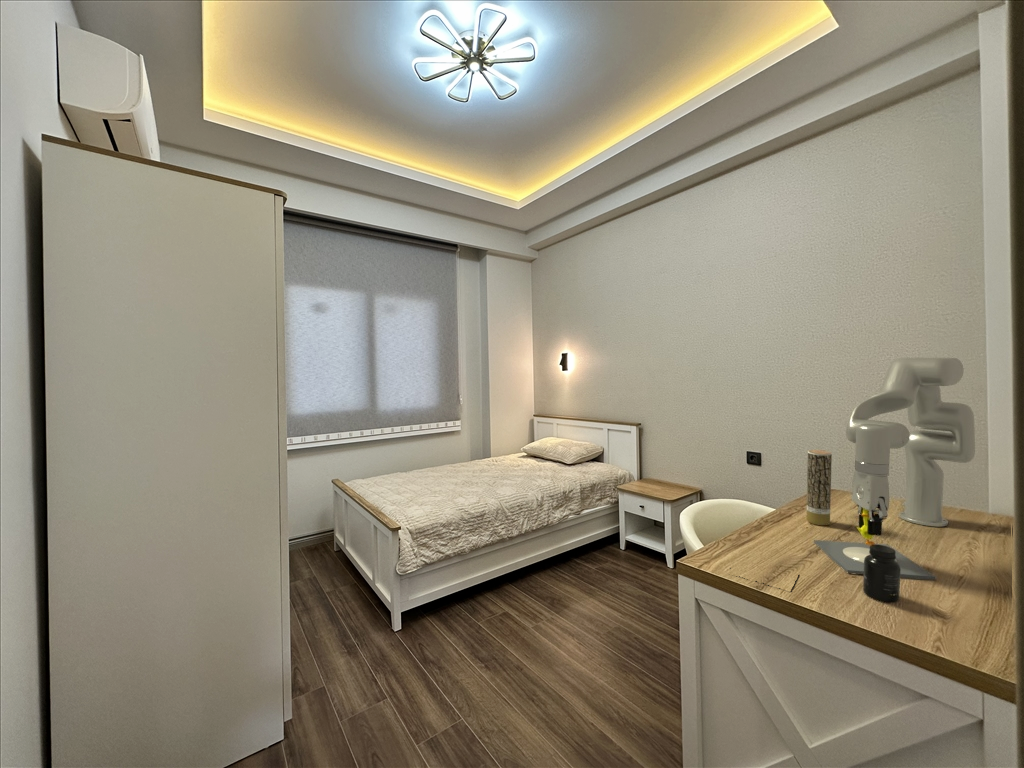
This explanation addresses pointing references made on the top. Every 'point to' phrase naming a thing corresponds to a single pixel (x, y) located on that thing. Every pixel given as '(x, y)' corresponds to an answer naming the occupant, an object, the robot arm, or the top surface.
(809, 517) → the paper tube
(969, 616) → the top surface
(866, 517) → the toy figure
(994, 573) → the top surface
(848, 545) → the slate tile
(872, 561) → the supplement bottle
